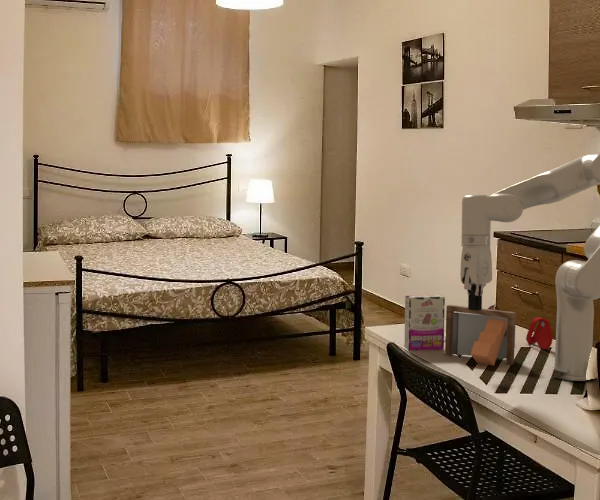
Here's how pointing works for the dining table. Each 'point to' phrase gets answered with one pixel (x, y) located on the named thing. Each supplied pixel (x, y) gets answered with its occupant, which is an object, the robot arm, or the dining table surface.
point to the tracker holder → (540, 333)
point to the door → (473, 333)
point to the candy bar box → (424, 322)
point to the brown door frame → (453, 308)
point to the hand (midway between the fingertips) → (474, 309)
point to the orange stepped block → (489, 342)
